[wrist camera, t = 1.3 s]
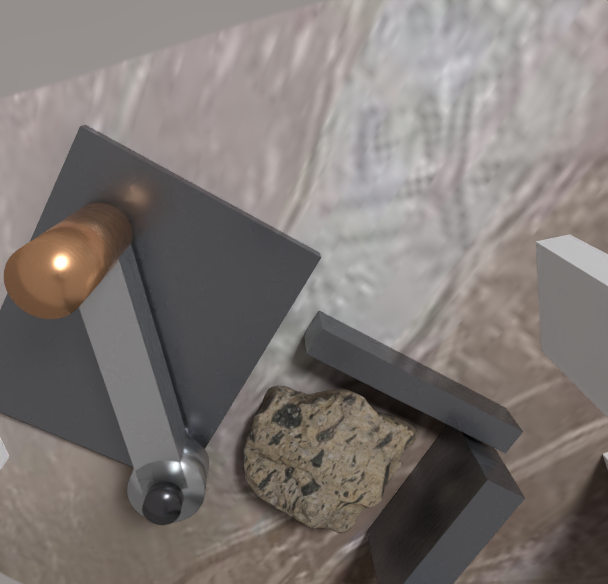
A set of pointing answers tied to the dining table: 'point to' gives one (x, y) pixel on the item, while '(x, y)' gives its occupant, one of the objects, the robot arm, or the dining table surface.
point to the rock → (323, 455)
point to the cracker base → (247, 358)
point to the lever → (114, 341)
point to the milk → (606, 459)
